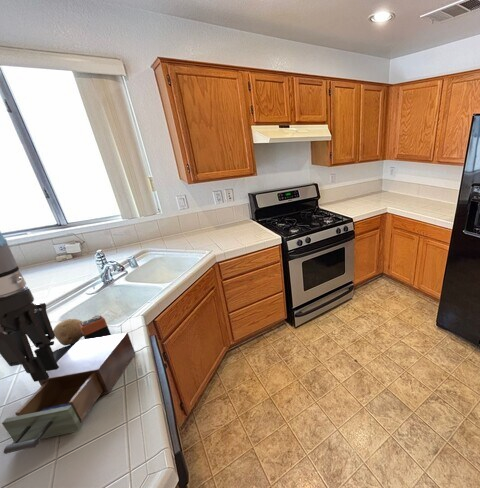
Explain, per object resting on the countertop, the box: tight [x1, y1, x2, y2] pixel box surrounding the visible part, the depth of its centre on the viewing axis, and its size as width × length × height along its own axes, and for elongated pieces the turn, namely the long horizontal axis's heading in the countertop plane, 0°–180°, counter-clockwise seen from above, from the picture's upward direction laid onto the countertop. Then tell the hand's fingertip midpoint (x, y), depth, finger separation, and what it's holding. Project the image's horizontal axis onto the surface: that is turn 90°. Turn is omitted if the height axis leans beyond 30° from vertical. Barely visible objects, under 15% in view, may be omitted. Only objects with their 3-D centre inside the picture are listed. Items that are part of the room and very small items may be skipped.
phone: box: [52, 342, 77, 362], centre depth 91 cm, size 8×1×15 cm
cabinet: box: [37, 332, 136, 396], centre depth 81 cm, size 17×15×9 cm
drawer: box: [1, 372, 104, 455], centre depth 67 cm, size 21×13×7 cm, turn 12°
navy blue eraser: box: [41, 403, 70, 411], centre depth 68 cm, size 9×2×2 cm, turn 102°
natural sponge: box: [53, 318, 84, 346], centre depth 98 cm, size 9×9×10 cm
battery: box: [79, 314, 112, 340], centre depth 98 cm, size 4×7×10 cm, turn 144°
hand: (46, 374), depth 66 cm, fingers open, 3 cm apart
